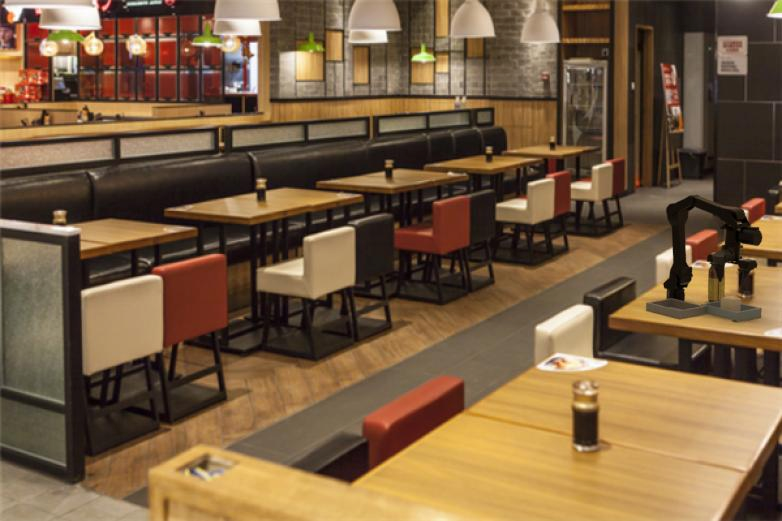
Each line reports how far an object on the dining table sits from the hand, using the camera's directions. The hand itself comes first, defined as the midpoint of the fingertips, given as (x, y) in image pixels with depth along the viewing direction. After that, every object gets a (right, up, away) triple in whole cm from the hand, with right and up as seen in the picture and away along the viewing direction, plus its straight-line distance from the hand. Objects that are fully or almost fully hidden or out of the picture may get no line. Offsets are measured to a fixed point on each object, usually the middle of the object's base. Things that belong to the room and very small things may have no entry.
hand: (730, 283), depth 373 cm
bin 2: (0, -12, +1) cm, 12 cm away
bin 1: (-19, -11, +4) cm, 23 cm away
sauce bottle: (+2, -8, +22) cm, 23 cm away
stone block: (0, -11, +1) cm, 11 cm away
